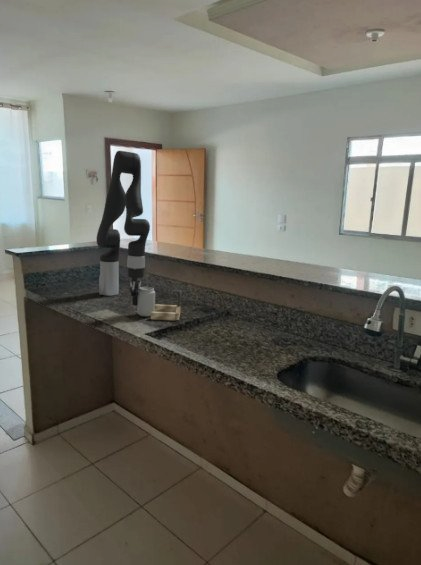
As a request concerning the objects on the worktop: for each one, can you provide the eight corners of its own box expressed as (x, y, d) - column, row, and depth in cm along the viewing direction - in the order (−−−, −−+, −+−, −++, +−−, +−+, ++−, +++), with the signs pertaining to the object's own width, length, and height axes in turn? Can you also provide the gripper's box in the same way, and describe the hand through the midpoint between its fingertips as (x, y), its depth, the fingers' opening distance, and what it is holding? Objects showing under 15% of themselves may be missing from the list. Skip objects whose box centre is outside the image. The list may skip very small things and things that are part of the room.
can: (157, 314, 178) (158, 287, 176) (147, 318, 172) (148, 290, 169) (144, 311, 181) (144, 285, 179) (133, 314, 175) (134, 288, 172)
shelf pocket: (150, 319, 170) (151, 296, 168) (154, 310, 183) (155, 289, 181) (178, 320, 171) (179, 297, 168) (180, 311, 183) (181, 290, 181)
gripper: (130, 262, 178) (129, 300, 182) (124, 268, 165) (123, 308, 169) (147, 263, 178) (146, 301, 182) (142, 269, 165) (141, 309, 169)
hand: (135, 305), depth 176 cm, fingers closed
